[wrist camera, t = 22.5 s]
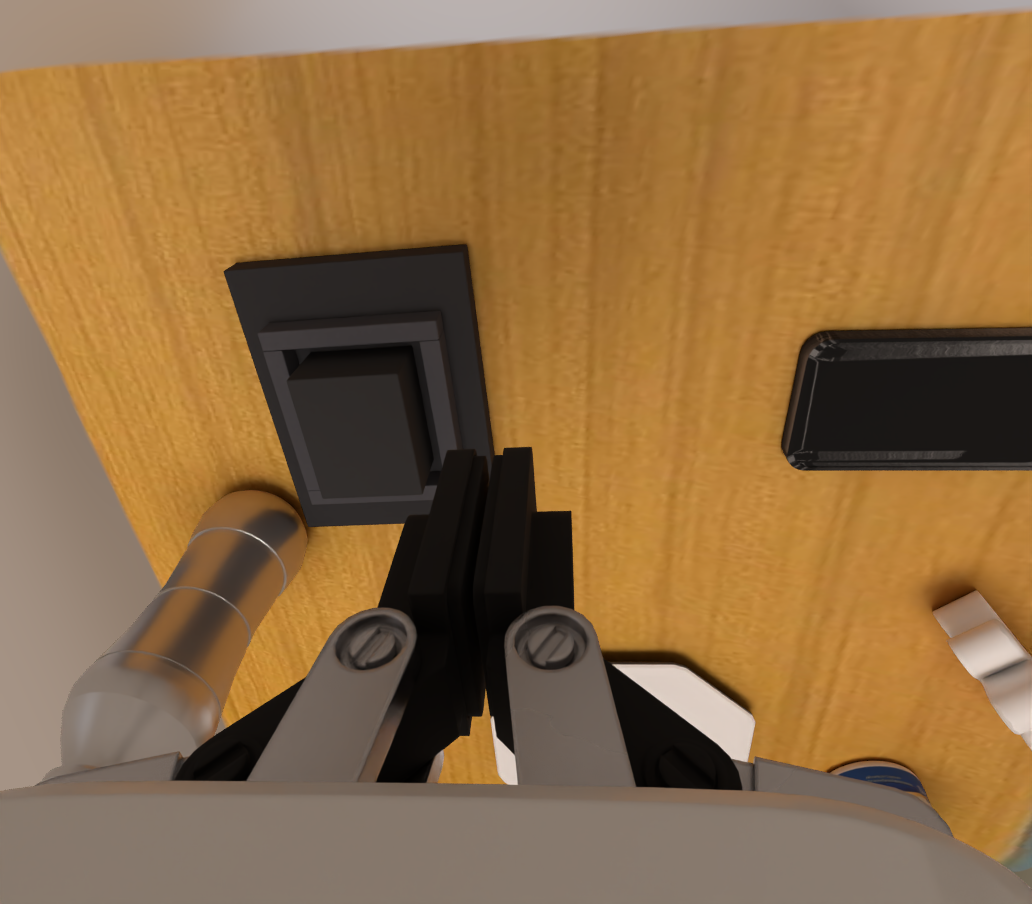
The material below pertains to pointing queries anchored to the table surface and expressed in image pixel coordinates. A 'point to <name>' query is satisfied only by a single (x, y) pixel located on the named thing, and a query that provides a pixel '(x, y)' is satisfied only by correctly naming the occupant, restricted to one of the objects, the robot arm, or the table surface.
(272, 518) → the plastic bottle
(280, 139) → the table surface
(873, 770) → the beverage bottle
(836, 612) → the table surface
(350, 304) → the base pad
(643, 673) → the plate
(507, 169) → the table surface
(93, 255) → the table surface
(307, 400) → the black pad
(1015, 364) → the phone
